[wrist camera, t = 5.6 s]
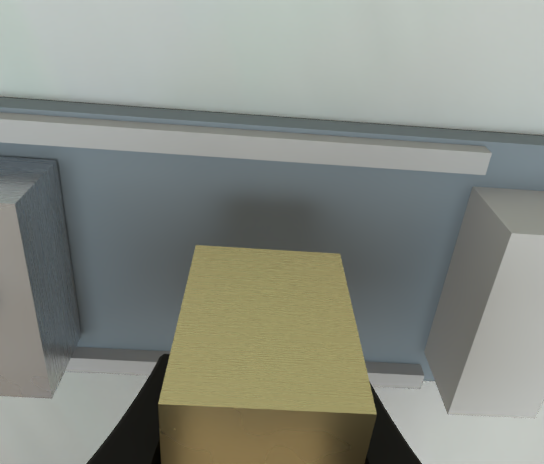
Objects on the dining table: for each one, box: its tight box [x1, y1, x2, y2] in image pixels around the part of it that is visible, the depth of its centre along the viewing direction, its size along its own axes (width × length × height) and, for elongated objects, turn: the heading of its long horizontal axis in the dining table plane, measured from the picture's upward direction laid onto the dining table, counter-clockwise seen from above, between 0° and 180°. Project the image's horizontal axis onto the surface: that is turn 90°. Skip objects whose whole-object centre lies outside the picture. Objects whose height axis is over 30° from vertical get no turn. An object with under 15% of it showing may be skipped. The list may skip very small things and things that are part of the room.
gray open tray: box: [0, 97, 544, 419], centre depth 17 cm, size 10×22×4 cm, turn 86°
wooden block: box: [158, 245, 377, 464], centre depth 12 cm, size 6×4×5 cm, turn 176°
